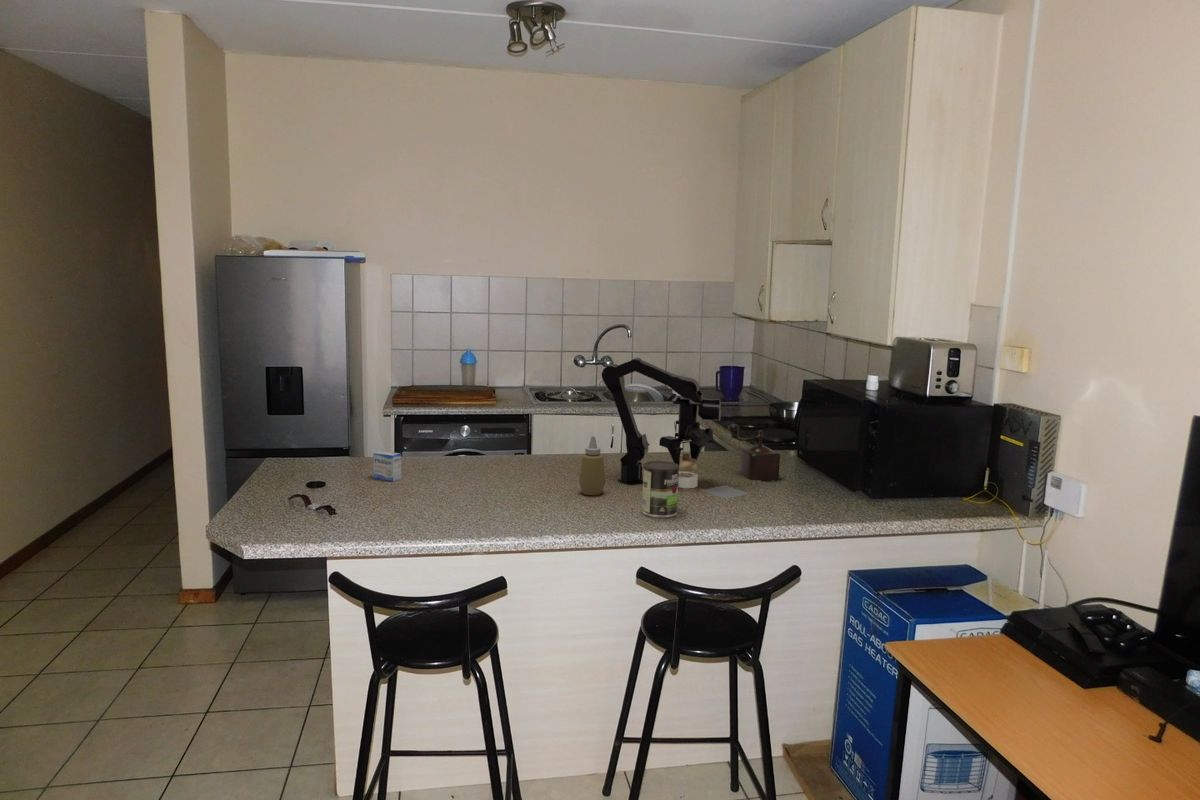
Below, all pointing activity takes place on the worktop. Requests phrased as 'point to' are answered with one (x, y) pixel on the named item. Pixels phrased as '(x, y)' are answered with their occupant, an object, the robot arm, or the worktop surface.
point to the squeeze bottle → (592, 470)
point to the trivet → (725, 492)
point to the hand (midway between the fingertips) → (685, 465)
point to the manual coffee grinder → (757, 458)
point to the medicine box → (387, 465)
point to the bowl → (687, 480)
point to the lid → (687, 463)
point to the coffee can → (660, 489)
